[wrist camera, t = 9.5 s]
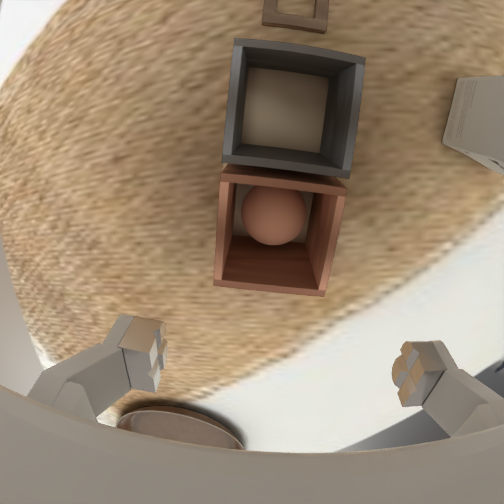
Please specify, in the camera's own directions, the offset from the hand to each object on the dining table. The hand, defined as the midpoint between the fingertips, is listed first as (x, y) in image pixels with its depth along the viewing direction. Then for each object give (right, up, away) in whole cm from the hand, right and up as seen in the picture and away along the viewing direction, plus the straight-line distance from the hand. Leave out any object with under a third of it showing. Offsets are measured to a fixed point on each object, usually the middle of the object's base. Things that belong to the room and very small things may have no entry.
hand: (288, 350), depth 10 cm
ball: (0, +6, +14) cm, 16 cm away
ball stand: (+2, +24, +10) cm, 26 cm away
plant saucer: (-12, -26, +34) cm, 44 cm away
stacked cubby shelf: (+1, +11, +16) cm, 20 cm away
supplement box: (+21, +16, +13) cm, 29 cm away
